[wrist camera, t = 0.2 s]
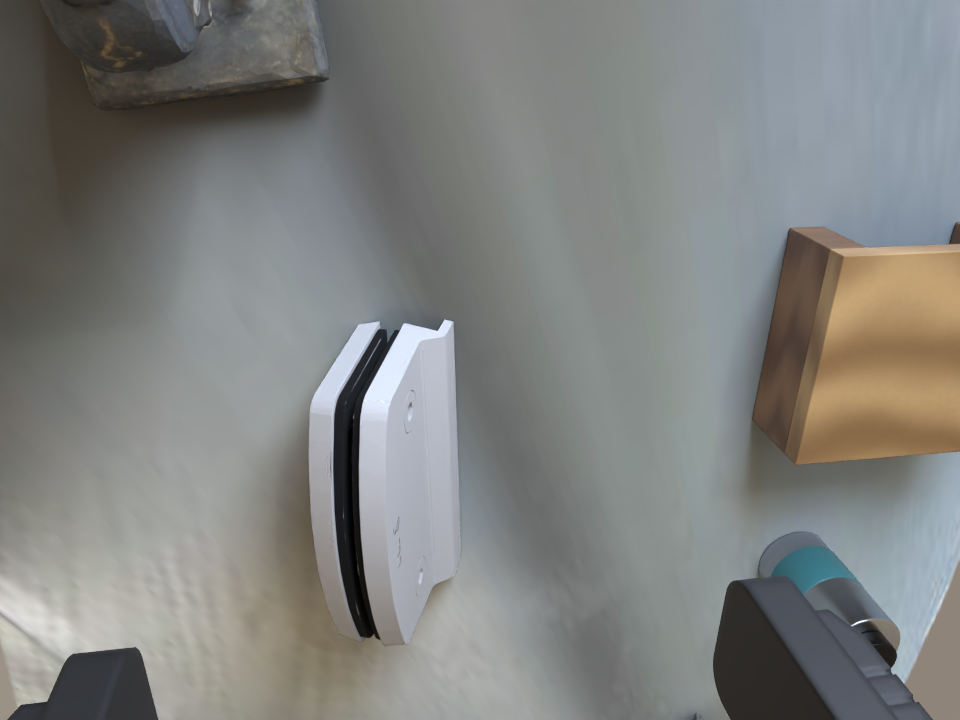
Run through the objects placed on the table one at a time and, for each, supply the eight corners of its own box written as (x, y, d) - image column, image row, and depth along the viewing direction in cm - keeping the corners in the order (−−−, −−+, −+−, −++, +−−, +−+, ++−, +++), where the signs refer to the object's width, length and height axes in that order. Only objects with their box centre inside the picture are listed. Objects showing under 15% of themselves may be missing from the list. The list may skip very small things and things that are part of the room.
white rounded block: (461, 561, 46) (419, 693, 38) (388, 552, 47) (331, 680, 39) (453, 314, 39) (398, 407, 30) (367, 309, 40) (290, 398, 31)
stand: (929, 406, 47) (989, 449, 43) (752, 419, 45) (795, 465, 41) (987, 220, 42) (1062, 247, 37) (789, 227, 40) (844, 256, 36)
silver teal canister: (817, 583, 52) (900, 688, 44) (752, 590, 52) (825, 698, 44) (832, 527, 50) (922, 627, 42) (764, 534, 50) (843, 636, 42)
